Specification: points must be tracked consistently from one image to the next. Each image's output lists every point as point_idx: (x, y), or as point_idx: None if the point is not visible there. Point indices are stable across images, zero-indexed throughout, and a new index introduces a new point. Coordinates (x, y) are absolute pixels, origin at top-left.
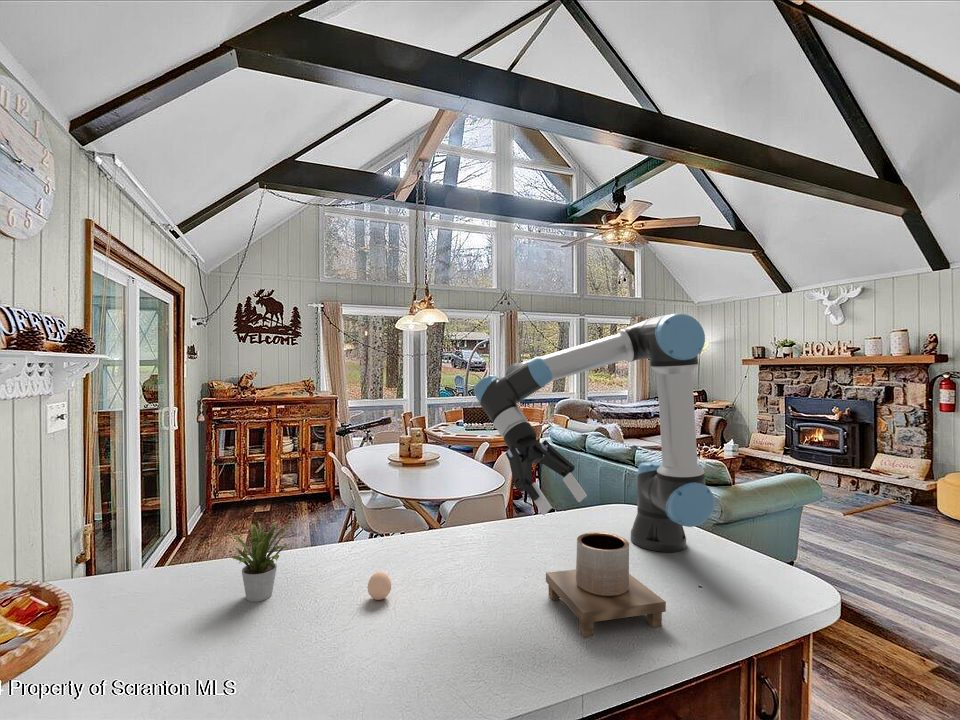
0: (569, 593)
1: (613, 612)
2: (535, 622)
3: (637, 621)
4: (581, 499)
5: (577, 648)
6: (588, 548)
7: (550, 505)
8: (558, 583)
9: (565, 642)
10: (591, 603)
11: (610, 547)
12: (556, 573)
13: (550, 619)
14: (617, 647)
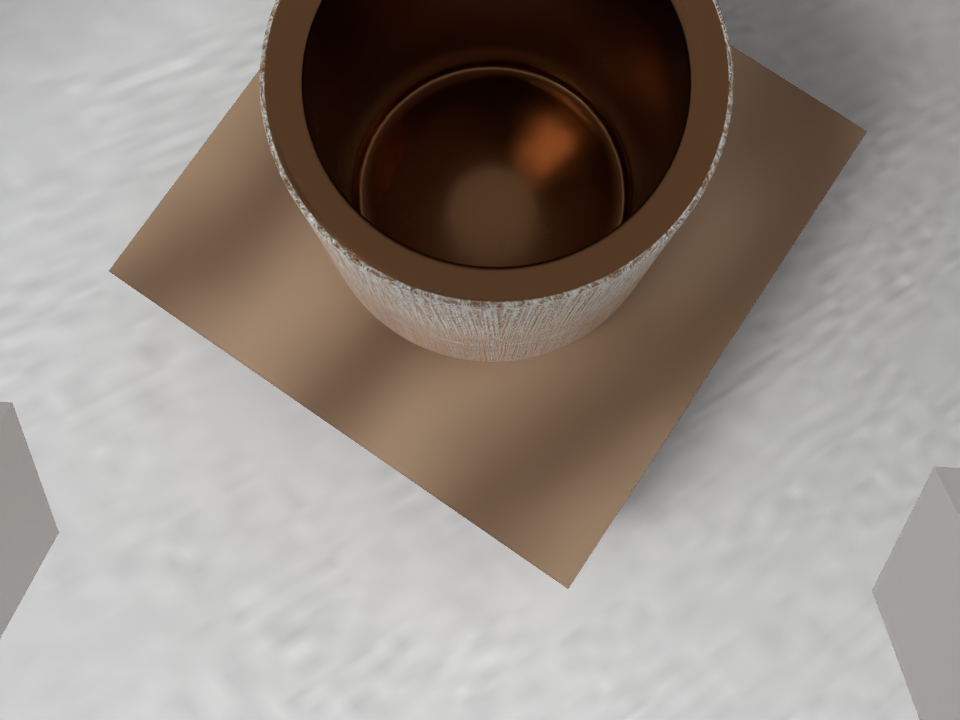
0: (721, 305)
1: None
2: (849, 439)
3: None
4: (37, 480)
5: (894, 161)
6: (732, 96)
7: (954, 499)
8: (652, 429)
9: (892, 227)
10: (736, 147)
11: (324, 130)
12: (529, 523)
13: (767, 396)
14: (755, 32)
